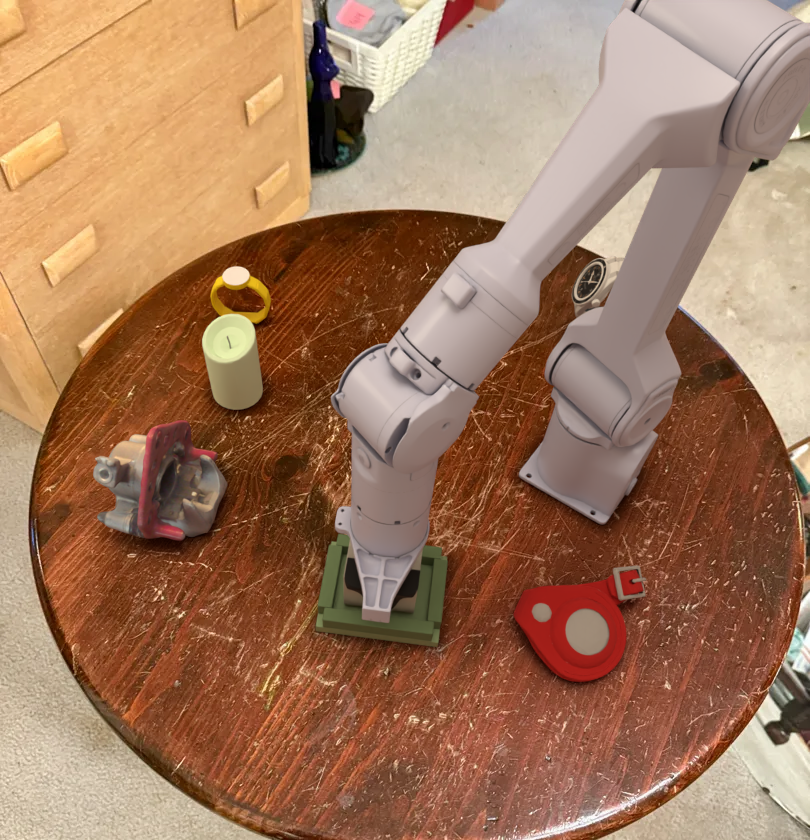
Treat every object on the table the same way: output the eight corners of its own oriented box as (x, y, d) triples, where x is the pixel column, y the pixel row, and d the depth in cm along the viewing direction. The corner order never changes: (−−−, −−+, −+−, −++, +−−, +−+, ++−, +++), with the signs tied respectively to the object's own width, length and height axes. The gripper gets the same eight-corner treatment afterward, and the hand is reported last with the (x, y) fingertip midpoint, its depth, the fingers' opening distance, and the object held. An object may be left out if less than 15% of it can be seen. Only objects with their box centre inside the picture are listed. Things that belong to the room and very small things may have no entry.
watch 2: (274, 312, 88) (269, 268, 83) (270, 331, 86) (265, 287, 81) (218, 307, 88) (210, 262, 82) (213, 325, 86) (205, 282, 81)
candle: (242, 418, 80) (232, 360, 73) (202, 396, 81) (188, 336, 74) (273, 386, 82) (266, 327, 75) (233, 365, 84) (222, 304, 77)
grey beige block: (418, 572, 71) (423, 543, 67) (413, 613, 69) (418, 586, 65) (350, 563, 71) (350, 534, 67) (343, 604, 69) (343, 576, 65)
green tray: (446, 561, 73) (449, 547, 71) (437, 647, 69) (440, 635, 67) (331, 546, 73) (331, 532, 71) (315, 631, 69) (314, 618, 67)
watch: (556, 324, 89) (580, 242, 80) (628, 330, 90) (661, 249, 80) (558, 363, 87) (584, 282, 77) (633, 369, 87) (668, 289, 77)
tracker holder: (616, 700, 66) (509, 646, 66) (594, 701, 71) (492, 650, 70) (665, 569, 70) (563, 516, 69) (641, 578, 74) (545, 528, 73)
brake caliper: (224, 560, 69) (114, 479, 61) (142, 576, 75) (33, 504, 68) (263, 456, 75) (167, 369, 67) (184, 478, 81) (88, 401, 73)
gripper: (350, 403, 61) (350, 503, 73) (317, 573, 53) (322, 653, 65) (444, 416, 61) (428, 513, 73) (424, 587, 53) (410, 665, 65)
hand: (384, 580), depth 69 cm, fingers closed on grey beige block, 4 cm apart
